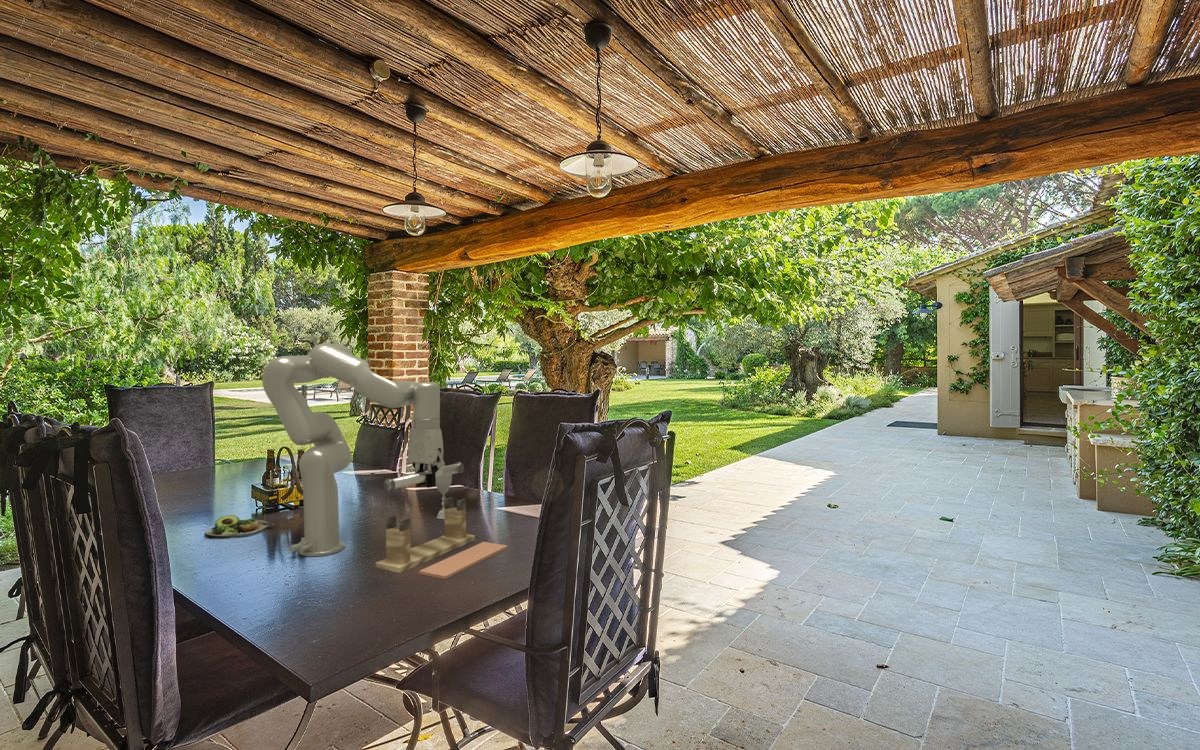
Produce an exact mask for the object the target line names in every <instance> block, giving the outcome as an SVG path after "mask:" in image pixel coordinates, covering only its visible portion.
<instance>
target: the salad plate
mask: <svg viewBox="0 0 1200 750" xmlns="http://www.w3.org/2000/svg"><path fill="white" fill-rule="evenodd" d="M275 525H276V524H275V523H271V522H268V521H266V520H261V519H260V520H259V519H258V520H257V519H256V518H248V519H246V518H245V519H240V518H239V517H238V516H237V515H234V514H233V515H232V514H230V515H224V516H220V517H218V519H217V520H216V521H214V527H212V528H210V529H208V530H206V531H205V532H204V536H205V537H207V538H208V539H213V538H220V539H231V537H235V538H243V537H242V536H244V537H250V536H253V535H257V534H259V532H260V533H262V532H263V531H264V530H266V529H267V528H269V527H272V526H273V527H274V526H275ZM262 530H263V531H262ZM240 532H244V533H240ZM245 532H247V533H245ZM237 533H238V534H237ZM249 535H250V536H249Z"/></svg>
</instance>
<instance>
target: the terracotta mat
mask: <svg viewBox="0 0 1200 750" xmlns="http://www.w3.org/2000/svg"><path fill="white" fill-rule="evenodd" d="M508 548H509V547H508V545H507V544H501V543H493V542H487V541H482V542H480V543H478V544H476V545H473V546H470V547H469V548H466V549H465V550H462V551H459V552H458V553H455V554H453V555H451V556H449V557H447V558H444V559H443V560H441V561H438V562H435V563H433V564H431V565H430V566H426V567H425V568H422V569H420V570H419V572H418V574H419V575H422V576H423V575H424V576H426V577H427V576H428V577H433V578H438V579H442V580H447V579H449V578H450V577H453V576H455V575H457V574H458V573H461V572H463V571H465V570H467V569H470V568H471V567H473V566H474V565H475V566H476V565H477V564H479V563H481V562H483V561H485V560H486V559H490V558H492V557H493V556H495V555H497V554H499V553H501V552H503V551H505V550H507V549H508Z"/></svg>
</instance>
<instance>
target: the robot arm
mask: <svg viewBox="0 0 1200 750" xmlns="http://www.w3.org/2000/svg"><path fill="white" fill-rule="evenodd" d="M261 377H262V379H261V381H262V383H261V384H262V388H263V390H264V393H265V395H266V397H267V398H268V399H269V401H270V403H271V405H272V406H273V407H274V409H275V412H276V413H277V416H278V419H279V420H280V421H281V424H282V425H283V427H284V429H285V432H286V434H287V435H288V437H289V439H290V440H291V442H292V443H293V444H295V445H297V446H308V445H312V444H314V446H313V447H310V448H309V449H307V450H306V451H304V452H303V454H302V455H301V457H300V459H299V462H298V464H299V465H298V466H299V472H300V477H301V483H302V492H303V493H302V495H303V498H302V499H303V533H304V535H303V537H301V538H300V541H299V542H298V543H294V544H292V545H290V546H289V548H288V549H289V551H290V552H291V553H293V552H297V551H298V553H299V554H300V555H301V556H304V557H322V556H328V555H332V554H333V555H334V554H336V553H338V552H341V551H342V550H343V549H345V546H346V545H345V541H343V540H340V525H339V524H340V521H339V519H340V515H339V513H340V512H339V508H340V507H339V487H338V483H337V480H336V477H335V474H336V473H339V472H341V471H344V470H345V469H346V468H347V467H348V466H349V465H350V463H351V460H352V451H351V449H350V447H349V444H348V442H347V440H346V439H345V437H344V435H343V433H342V431H341V429H340V427H339V425H338V423H337V422H336V420H335V419H334V417H332V415H330V414H329V413H327V412H324V411H313V410H312V409H311V408H310V406H309V405H308V403H307V401H306V399H305V396H303V394H302V393H301V392H300V391H299V390H298V389H297V388H296V387H295V384H304V383H305V384H307V383H312V382H315V381H318V380H322V379H324V378H327V377H331V378H334V379H335V380H338V381H340V382H342V383H344V384H346V385H348V386H351V387H352V388H353V389H354V390H355V391H356V392H358V394H360V395H361V396H362V397H364V398H366V399H368V400H369V401H371V402H374V403H377V404H378V405H381V406H383V407H386V408H390V409H397V408H400V407H406V406H413V407H412V408H413V409H412V410H413V411H412V412H413V413H412V414H413V415H412V416H413V417H412V419H411V423H412V428H411V429H410V432H409V438H408V445H407V446H408V447H407V460H408V461H407V462H408V463H410V465H412V467H413V468H414V472H415V473H419V472H423V471H425V467H426V465H427V470H428V473H429V474H427V475H426V476H427V478H426V481H425V482H422V483H418V484H416V486H417V487H421V486H424V485H425V486H426V488H432V487H435V486H436V473H437V472H438V470H439V468H440V467H442V466H446V463H445V461H444V441H443V433H442V429H441V427H440V422H441V419H440V413H441V412H440V411H441V405H440V404H441V401H440V400H441V387H440V385H439V383H438V382H434V381H421V382H420V381H418V382H417V381H411V380H398V381H395V380H394V381H392V380H389V379H387V378H385V377H383V376H381V375H378V374H377V373H376V372H374V371H372V369H370V364H369V362H368V361H367V360H365V359H363V358H361V357H358V356H356V355H354V354H353V353H352V351H351V350H350V349H349V347H347V346H345V345H344V344H342V343H329V342H328V343H323V342H322V343H320V344H317V345H315V346H314V347H312V349H311V350H310V351H309V354H307V355H282V356H277V357H276V358H274V359H272V360H270V361H269V362H268V363H267V364H266V366H265V367H264V371H263V373H262V376H261Z"/></svg>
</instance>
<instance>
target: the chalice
mask: <svg viewBox="0 0 1200 750" xmlns="http://www.w3.org/2000/svg"><path fill="white" fill-rule="evenodd" d="M444 466H445V465H444ZM444 466H442V467H444ZM452 481H453V474H452V475H448V476H445V477H441V478H437V479H436V485H435V486H436V488H437V490H438V492H439V493H440V494H441V495H442V496H441V500H442V502H441V503H440V504H441V505H442V508H441V509H440V510H439V511H438V513H437V516H436V518H437V519H440V520H441V519H442V520H444V499H447V498H446V493H447V492H448V491H449V490H450V487H451V485H452Z"/></svg>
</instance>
